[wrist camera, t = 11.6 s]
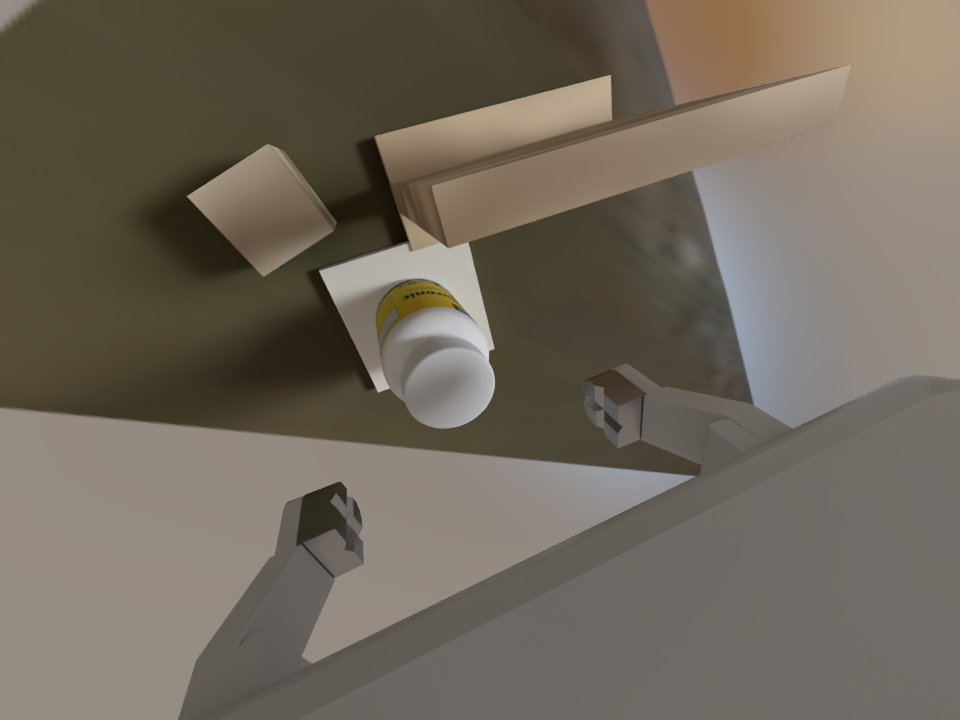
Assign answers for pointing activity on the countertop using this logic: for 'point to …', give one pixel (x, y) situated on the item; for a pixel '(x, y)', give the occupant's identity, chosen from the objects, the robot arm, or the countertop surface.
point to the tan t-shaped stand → (579, 151)
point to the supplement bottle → (433, 354)
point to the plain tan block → (265, 209)
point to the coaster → (376, 272)
